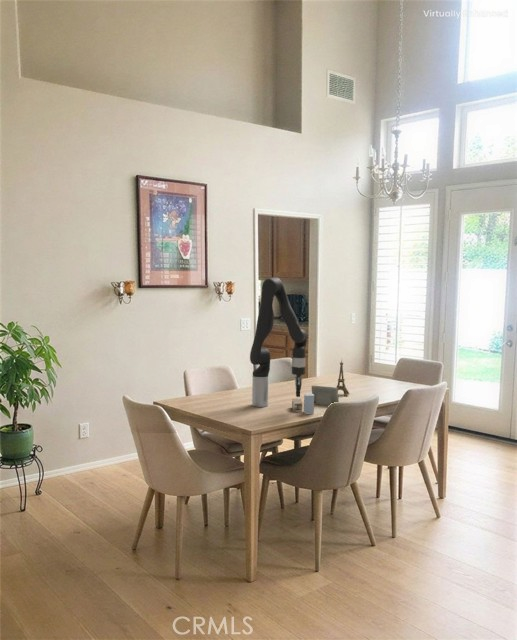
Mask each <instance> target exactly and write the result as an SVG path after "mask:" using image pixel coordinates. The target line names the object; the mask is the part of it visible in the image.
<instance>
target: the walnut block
mask: <svg viewBox="0 0 517 640" xmlns="http://www.w3.org/2000/svg"><path fill="white" fill-rule="evenodd" d="M302 400H303V399H301V398H292V400H291V402H292V403H291V404H292V405H291V408H292V412H303V401H302Z"/></svg>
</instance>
